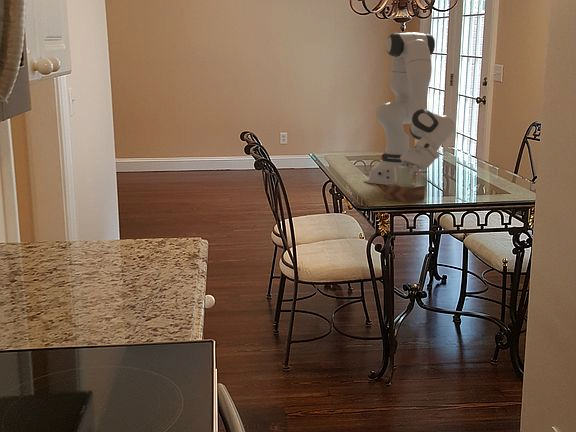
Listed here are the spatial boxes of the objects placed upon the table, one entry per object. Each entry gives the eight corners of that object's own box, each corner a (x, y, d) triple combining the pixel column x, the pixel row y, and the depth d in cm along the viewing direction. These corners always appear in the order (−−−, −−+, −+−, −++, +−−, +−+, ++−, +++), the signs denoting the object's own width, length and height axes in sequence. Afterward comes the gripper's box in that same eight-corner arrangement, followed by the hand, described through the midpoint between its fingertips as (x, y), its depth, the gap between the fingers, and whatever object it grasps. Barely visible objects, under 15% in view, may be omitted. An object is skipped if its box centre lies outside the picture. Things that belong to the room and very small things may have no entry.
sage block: (400, 186, 299) (401, 168, 297) (394, 184, 305) (395, 166, 303) (414, 186, 301) (415, 167, 299) (407, 183, 307) (408, 165, 305)
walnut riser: (384, 198, 305) (385, 185, 303) (402, 195, 312) (403, 181, 311) (406, 203, 296) (406, 188, 295) (424, 199, 304) (424, 185, 302)
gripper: (410, 140, 311) (389, 163, 310) (432, 146, 291) (410, 170, 291) (418, 150, 313) (397, 173, 312) (441, 156, 294) (419, 181, 293)
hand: (403, 172), depth 301 cm, fingers open, 8 cm apart
